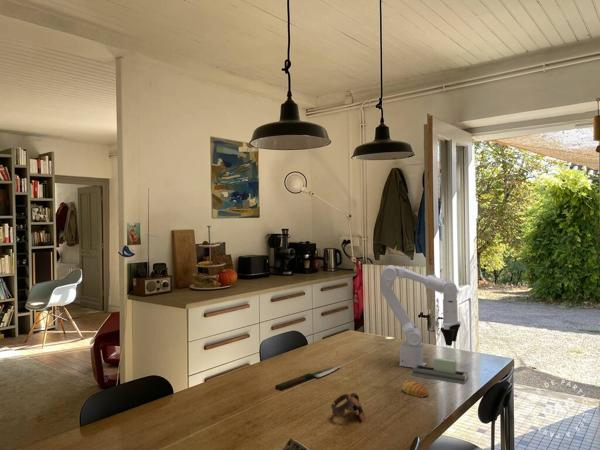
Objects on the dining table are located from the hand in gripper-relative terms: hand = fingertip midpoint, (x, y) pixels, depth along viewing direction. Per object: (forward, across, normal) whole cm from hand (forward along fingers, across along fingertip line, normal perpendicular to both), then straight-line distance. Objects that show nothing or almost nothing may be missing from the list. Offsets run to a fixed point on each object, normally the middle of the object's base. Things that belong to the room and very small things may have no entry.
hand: (451, 343), depth 191 cm
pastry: (+11, -34, +5) cm, 36 cm away
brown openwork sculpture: (+10, -65, +16) cm, 68 cm away
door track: (+10, -13, +2) cm, 17 cm away
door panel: (+9, -13, 0) cm, 16 cm away
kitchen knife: (+10, -40, +44) cm, 60 cm away
